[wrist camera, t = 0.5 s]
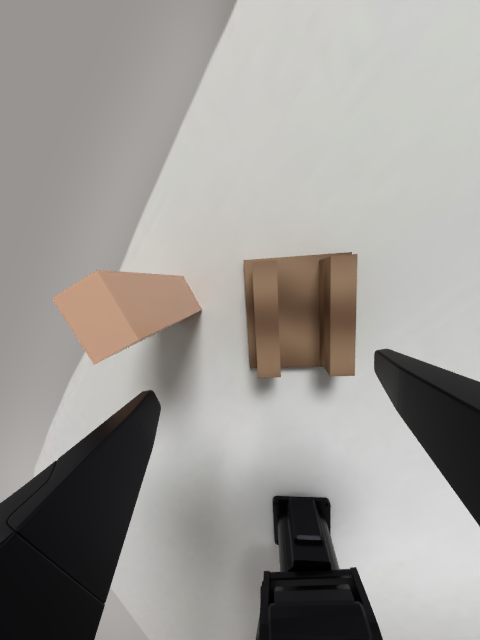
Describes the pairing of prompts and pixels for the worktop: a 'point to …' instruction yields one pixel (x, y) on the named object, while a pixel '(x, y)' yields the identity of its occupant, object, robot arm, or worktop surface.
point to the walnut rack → (302, 313)
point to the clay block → (123, 309)
